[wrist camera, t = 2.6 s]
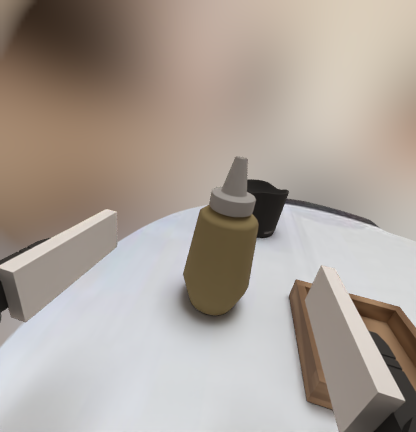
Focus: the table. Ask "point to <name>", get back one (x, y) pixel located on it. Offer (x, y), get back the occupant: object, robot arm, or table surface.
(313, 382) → the wooden tray with handle
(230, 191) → the squeeze bottle
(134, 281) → the table surface
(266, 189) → the pen holder
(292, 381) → the table surface
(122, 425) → the table surface
